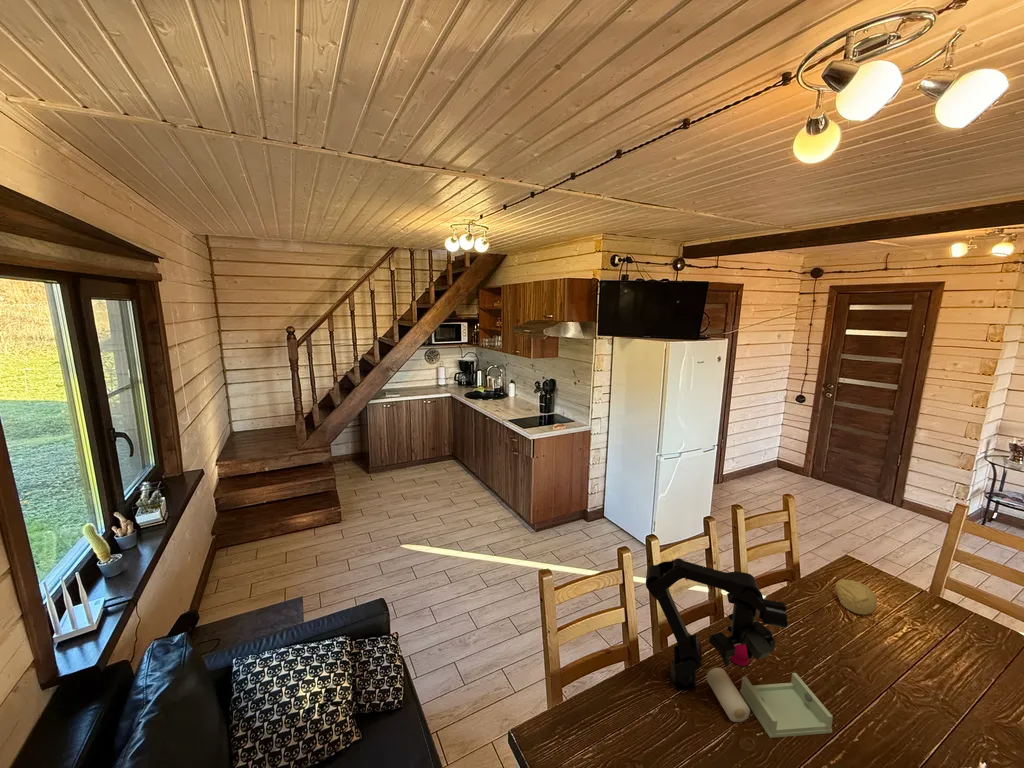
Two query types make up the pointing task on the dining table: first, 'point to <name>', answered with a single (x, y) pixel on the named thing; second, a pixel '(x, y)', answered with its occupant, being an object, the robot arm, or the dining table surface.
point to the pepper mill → (740, 655)
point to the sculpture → (856, 596)
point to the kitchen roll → (728, 695)
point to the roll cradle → (787, 708)
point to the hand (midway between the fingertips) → (737, 661)
